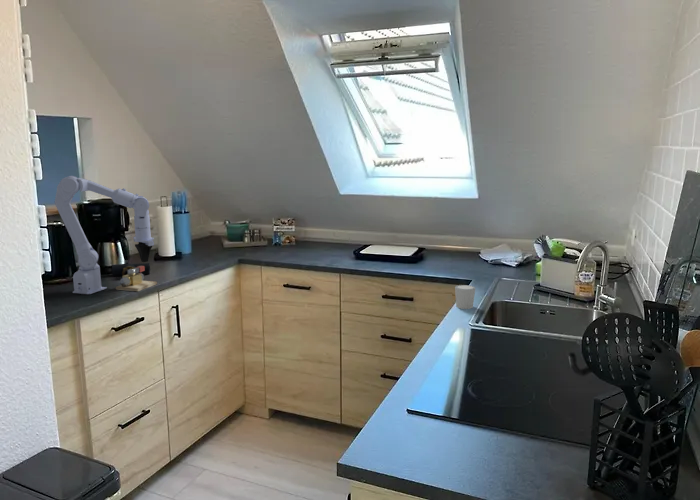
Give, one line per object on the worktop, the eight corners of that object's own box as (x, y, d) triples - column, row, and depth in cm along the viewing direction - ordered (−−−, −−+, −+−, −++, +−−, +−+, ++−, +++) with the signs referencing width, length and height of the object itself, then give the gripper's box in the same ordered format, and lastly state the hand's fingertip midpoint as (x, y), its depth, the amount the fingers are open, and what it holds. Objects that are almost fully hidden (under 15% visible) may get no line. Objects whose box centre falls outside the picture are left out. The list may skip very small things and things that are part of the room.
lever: (132, 275, 213) (132, 270, 213) (126, 275, 214) (126, 270, 213) (145, 270, 222) (145, 265, 221) (139, 270, 222) (139, 265, 222)
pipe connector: (147, 266, 229) (108, 268, 225) (147, 278, 230) (109, 280, 226) (149, 261, 240) (113, 263, 236) (150, 273, 241) (114, 275, 237)
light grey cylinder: (450, 305, 188) (450, 286, 187) (465, 302, 192) (465, 283, 190) (463, 310, 182) (464, 290, 181) (478, 307, 186) (479, 287, 185)
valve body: (129, 287, 210) (128, 278, 209) (118, 286, 212) (118, 277, 211) (145, 281, 220) (145, 272, 219) (135, 281, 221) (135, 271, 220)
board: (137, 291, 208) (137, 288, 208) (115, 289, 211) (115, 287, 211) (157, 284, 219) (157, 281, 219) (136, 282, 222) (136, 280, 222)
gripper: (160, 228, 210) (162, 262, 212) (144, 224, 220) (147, 257, 222) (142, 230, 205) (144, 265, 207) (127, 226, 215) (129, 260, 218)
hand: (144, 261), depth 214 cm, fingers closed
